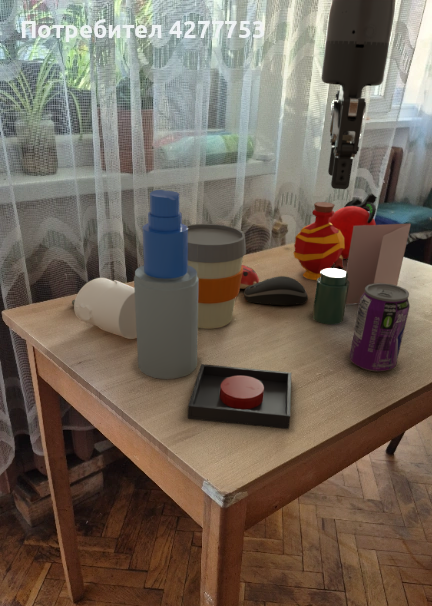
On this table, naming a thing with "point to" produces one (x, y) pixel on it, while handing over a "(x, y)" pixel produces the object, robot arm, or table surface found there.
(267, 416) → the tray
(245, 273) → the ladybug figurine
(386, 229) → the greeting card
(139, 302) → the spray bottle
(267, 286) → the computer mouse
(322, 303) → the jar
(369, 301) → the beverage can
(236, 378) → the lid
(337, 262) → the ammunition
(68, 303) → the table surface
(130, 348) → the table surface
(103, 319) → the mug
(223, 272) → the reusable coffee cup
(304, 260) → the potion bottle
